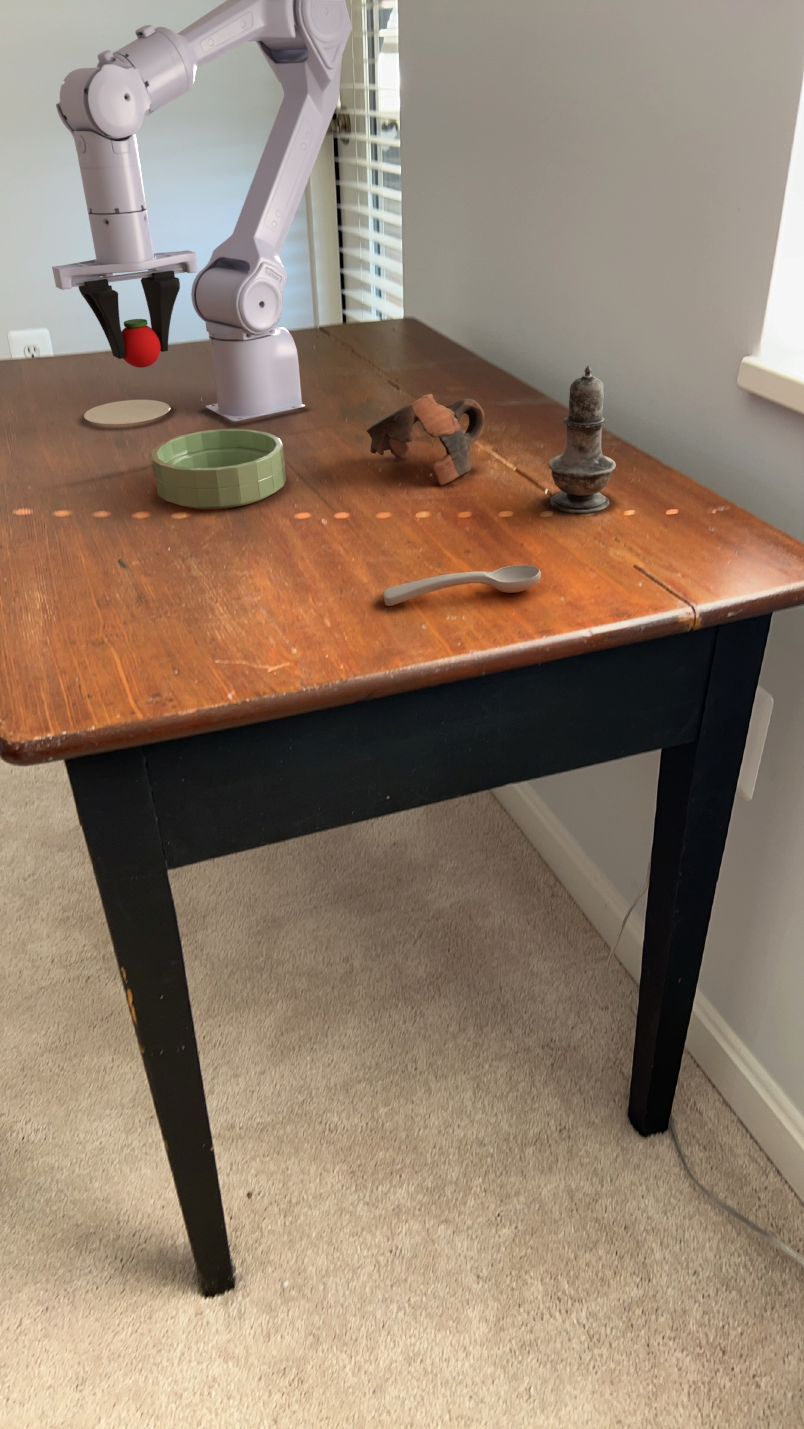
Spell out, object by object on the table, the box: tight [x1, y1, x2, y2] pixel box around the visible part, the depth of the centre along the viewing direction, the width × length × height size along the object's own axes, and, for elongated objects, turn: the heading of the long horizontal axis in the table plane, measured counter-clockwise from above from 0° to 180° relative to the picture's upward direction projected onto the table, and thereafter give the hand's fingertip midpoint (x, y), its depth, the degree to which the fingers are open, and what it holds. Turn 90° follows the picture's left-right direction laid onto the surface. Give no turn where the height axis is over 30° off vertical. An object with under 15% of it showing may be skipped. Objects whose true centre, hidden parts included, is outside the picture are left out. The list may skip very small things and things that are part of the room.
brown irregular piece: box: [366, 393, 485, 486], centre depth 99 cm, size 12×10×8 cm
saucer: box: [83, 399, 171, 425], centre depth 119 cm, size 10×10×1 cm
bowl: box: [150, 428, 287, 510], centre depth 96 cm, size 12×12×4 cm
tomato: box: [121, 318, 161, 369], centre depth 107 cm, size 4×4×5 cm
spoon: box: [382, 564, 542, 607], centre depth 76 cm, size 3×12×2 cm, turn 99°
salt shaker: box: [547, 365, 617, 514], centre depth 88 cm, size 6×6×12 cm
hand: (141, 353), depth 107 cm, fingers closed on tomato, 4 cm apart
